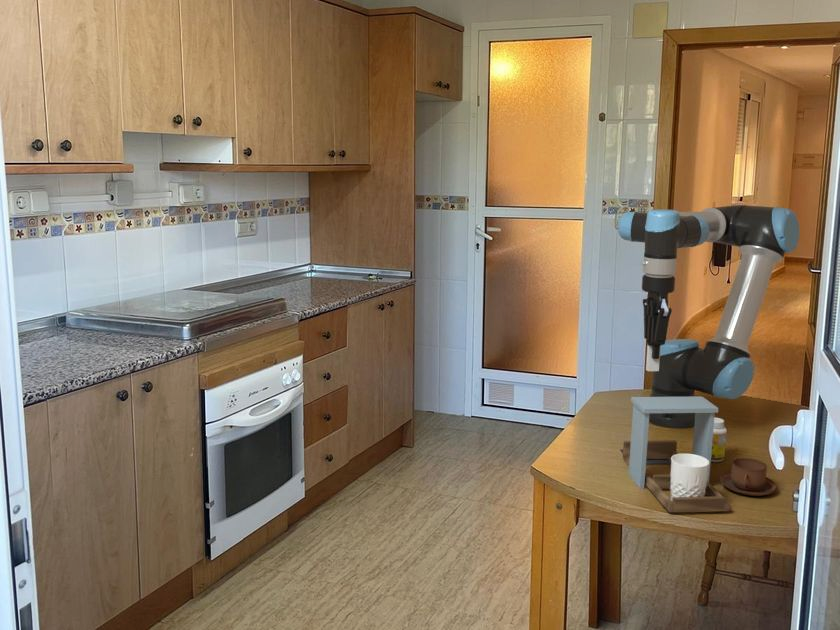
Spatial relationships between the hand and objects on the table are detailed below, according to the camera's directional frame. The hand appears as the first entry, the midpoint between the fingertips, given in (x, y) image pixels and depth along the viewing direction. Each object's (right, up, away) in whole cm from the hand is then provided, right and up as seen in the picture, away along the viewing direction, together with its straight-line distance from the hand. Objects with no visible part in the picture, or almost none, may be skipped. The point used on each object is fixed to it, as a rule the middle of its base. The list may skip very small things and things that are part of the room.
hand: (652, 370), depth 204 cm
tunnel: (+1, -25, -10) cm, 27 cm away
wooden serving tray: (+1, -25, -13) cm, 28 cm away
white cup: (+1, -28, -22) cm, 36 cm away
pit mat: (0, -22, +4) cm, 22 cm away
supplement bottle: (+16, -23, +4) cm, 28 cm away
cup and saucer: (+18, -26, -14) cm, 35 cm away
